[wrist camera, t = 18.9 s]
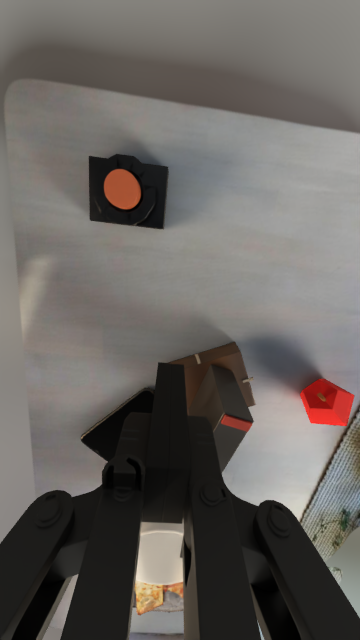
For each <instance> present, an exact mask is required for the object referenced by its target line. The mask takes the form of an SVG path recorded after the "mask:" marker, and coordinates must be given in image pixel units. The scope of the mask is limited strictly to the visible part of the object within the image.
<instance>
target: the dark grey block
mask: <svg viewBox="0 0 360 640" xmlns="http://www.w3.org/2000/svg"><path fill="white" fill-rule="evenodd" d="M188 413H189V416H203V417H207V419H208V420H209V422H210V423H211V425H212V428H213V433H214V438H215V445H216V448H217V454H218V459H219V464H220V469H221V474H222V472H223V470H224V469H225V467H226V466H227V464H228V462H229V461H230V459H231V457H232V456H233V454H234V453H235V451H236V449H237V448H238V446H239V444H240V443H241V441H242V440H243V438H244V436H245V435H246V433H247V432H248V431H249V429H250V427H251V426H252V423H253V422H254V421H253V418H252V416H251V414H250V411H249V409H248V406H247V404H246V402H245V399H244V397H243V395H242V392H241V390H240V388H239V385H238V383H237V380H236V378H235V376H234V373H233V371H230V370H227V369H224V368H221V367H218V366H215V365H212V364H211V365H210V367H209V369H208V371H207V373H206V375H205V377H204V379H203V381H202V383H201V385H200V387H199V389H198V391H197V393H196V395H195V397H194V399H193V402H192V404H191V406H190V408H189V410H188Z"/></svg>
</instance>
